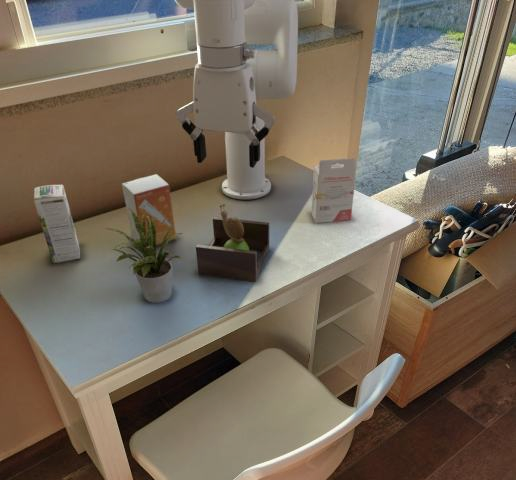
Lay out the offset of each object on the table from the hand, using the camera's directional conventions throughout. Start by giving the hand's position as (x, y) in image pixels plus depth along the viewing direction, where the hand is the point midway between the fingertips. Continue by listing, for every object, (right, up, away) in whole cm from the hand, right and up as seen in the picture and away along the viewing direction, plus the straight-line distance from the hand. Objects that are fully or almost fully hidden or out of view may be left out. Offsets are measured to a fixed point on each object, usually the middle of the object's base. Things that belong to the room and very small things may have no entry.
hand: (227, 162), depth 92 cm
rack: (+1, -15, +15) cm, 22 cm away
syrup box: (-36, -14, +18) cm, 42 cm away
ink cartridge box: (+22, -3, +29) cm, 37 cm away
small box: (-18, -9, +22) cm, 30 cm away
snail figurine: (+1, -16, +15) cm, 22 cm away
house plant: (-15, -23, +8) cm, 28 cm away
